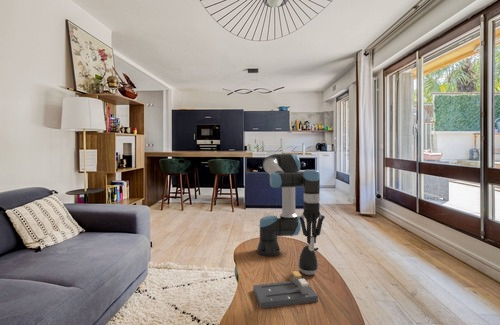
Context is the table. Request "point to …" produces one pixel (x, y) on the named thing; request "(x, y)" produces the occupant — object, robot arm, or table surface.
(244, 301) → the table surface
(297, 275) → the amber fader
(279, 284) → the console
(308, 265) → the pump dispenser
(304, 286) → the block
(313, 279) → the table surface
